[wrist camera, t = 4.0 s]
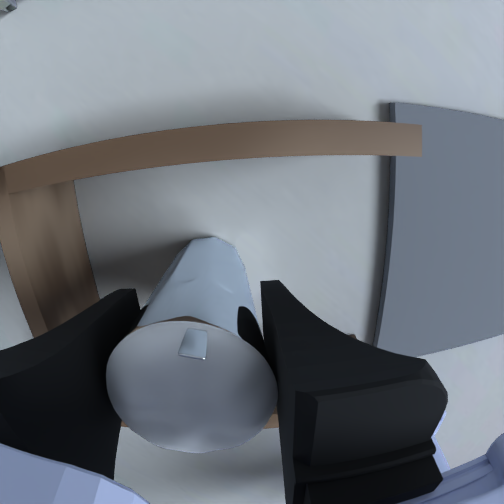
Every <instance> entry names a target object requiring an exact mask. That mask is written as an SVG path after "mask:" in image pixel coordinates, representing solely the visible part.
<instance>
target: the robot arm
mask: <svg viewBox="0 0 504 504" xmlns="http://www.w3.org/2000/svg"><path fill="white" fill-rule="evenodd" d="M260 283H261V301H262V319H263V335H264V343H265V347H266V350H267V353H268V357H269V360H270V363H271V367H272V370H273V373H274V376H275V379H276V382H277V386H278V400H277V404H276V408H277V414H278V423H279V433H280V443H281V454H282V464H283V476H284V487H285V499H286V504H504V433H503V434H501V435H500V436H499V437H498V438H497V439H496V440H495V441H494V442H493V443H492V444H491V446H490V447H489V449H488V451H487V453H486V454H485V455H483V456H481V457H478V458H476V459H474V460H472V461H469V462H467V463H465V464H463V465H460V466H458V467H455V468H453V469H450V467H449V465H448V463H447V460H446V458H445V456H444V454H443V452H442V450H441V448H440V446H439V444H438V442H437V440H436V438H435V435H436V433H437V431H438V429H439V427H440V425H441V423H442V421H443V419H444V417H445V415H446V411H445V408H446V405H447V402H448V395H447V391H446V389H445V388H444V386H443V384H442V383H441V381H440V379H439V378H438V376H437V374H436V373H435V371H434V370H433V369H432V367H431V366H430V365H429V363H428V362H427V361H426V360H425V359H420V358H416V357H411V356H406V355H402V354H397V353H393V352H390V351H387V350H384V349H380V348H377V347H374V346H372V345H369V344H366V343H364V342H362V341H359V340H357V339H355V338H353V337H351V336H348V335H346V334H344V333H343V332H341V331H339V330H337V329H336V328H334V327H332V326H331V325H329V324H327V323H326V322H324V321H323V320H321V319H320V318H318V317H317V316H316V315H315V314H313V313H312V312H311V311H309V310H308V309H307V308H306V307H305V306H304V305H303V304H302V303H301V302H299V301H298V300H297V299H296V298H295V297H294V296H293V295H292V294H291V293H290V292H289V290H288V289H287V288H286V287H285V286H284V285H283V284H282V283H281V282H280V281H279V280H272V281H260ZM140 311H141V310H140V306H139V302H138V298H137V294H136V290H135V288H133V289H119V290H116V291H114V292H112V293H111V294H109V295H107V296H106V297H104V298H102V299H101V300H99V301H98V302H96V303H95V304H93V305H92V306H90V307H88V308H87V309H85V310H84V311H82V312H81V313H79V314H77V315H76V316H74V317H72V318H71V319H69V320H68V321H66V322H64V323H63V324H61V325H59V326H57V327H56V328H54V329H52V330H50V331H48V332H46V333H44V334H42V335H40V336H38V337H35V338H33V339H31V340H28V341H26V342H23V343H20V344H18V345H15V346H13V347H10V348H7V349H4V350H0V504H150V503H149V502H148V501H147V500H145V499H144V498H143V497H141V496H140V495H139V494H137V493H136V492H135V491H134V490H132V489H131V488H129V487H126V486H124V485H122V484H120V483H118V482H116V481H114V469H115V459H116V452H117V445H118V438H119V433H120V428H121V423H122V419H121V418H120V417H119V415H118V414H117V413H116V411H115V409H114V407H113V405H112V403H111V401H110V398H109V395H108V391H107V384H106V368H107V363H108V360H109V357H110V355H111V353H112V352H113V350H114V349H115V347H116V346H117V344H118V343H119V341H120V340H121V338H122V337H123V335H124V334H125V332H126V331H127V329H128V328H129V326H130V325H131V324H132V322H133V321H134V319H135V318H136V316H137V315H138V313H139V312H140Z"/></svg>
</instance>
